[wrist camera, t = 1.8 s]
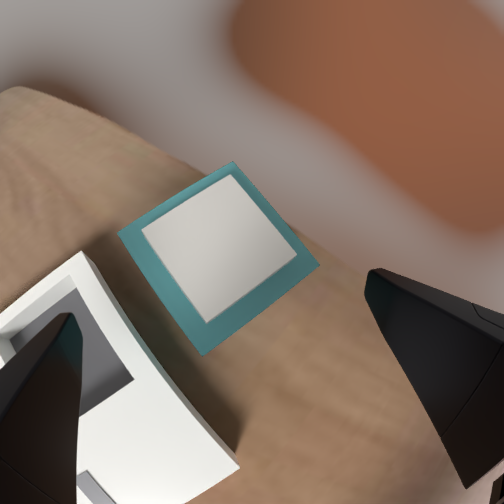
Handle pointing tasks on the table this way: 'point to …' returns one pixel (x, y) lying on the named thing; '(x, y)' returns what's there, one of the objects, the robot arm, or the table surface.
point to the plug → (217, 255)
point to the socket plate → (120, 398)
